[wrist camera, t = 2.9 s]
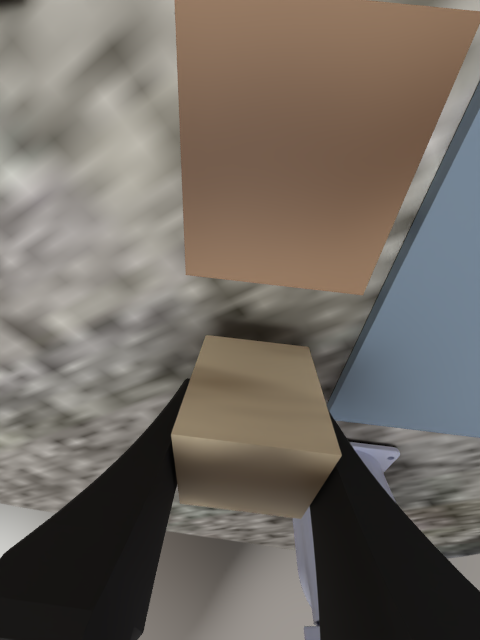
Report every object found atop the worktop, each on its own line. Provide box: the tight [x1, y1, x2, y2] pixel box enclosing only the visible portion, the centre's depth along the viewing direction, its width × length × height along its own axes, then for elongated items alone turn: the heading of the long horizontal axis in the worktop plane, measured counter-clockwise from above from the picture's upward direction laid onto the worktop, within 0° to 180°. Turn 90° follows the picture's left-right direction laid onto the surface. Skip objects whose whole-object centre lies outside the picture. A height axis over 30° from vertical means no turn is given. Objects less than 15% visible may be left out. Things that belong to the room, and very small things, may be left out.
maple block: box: [171, 335, 342, 519], centre depth 10 cm, size 5×5×5 cm
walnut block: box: [175, 0, 480, 295], centre depth 7 cm, size 5×5×5 cm
